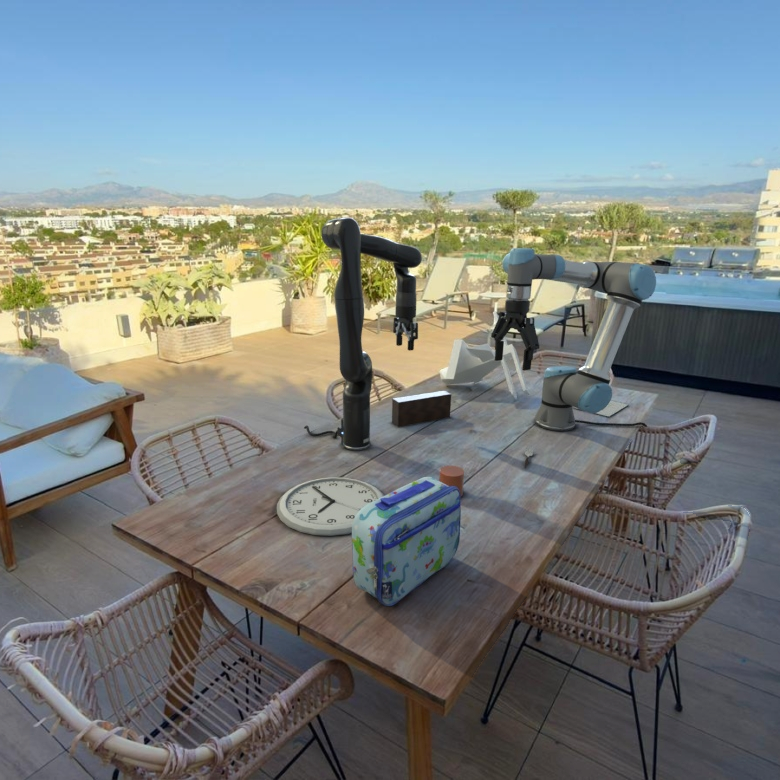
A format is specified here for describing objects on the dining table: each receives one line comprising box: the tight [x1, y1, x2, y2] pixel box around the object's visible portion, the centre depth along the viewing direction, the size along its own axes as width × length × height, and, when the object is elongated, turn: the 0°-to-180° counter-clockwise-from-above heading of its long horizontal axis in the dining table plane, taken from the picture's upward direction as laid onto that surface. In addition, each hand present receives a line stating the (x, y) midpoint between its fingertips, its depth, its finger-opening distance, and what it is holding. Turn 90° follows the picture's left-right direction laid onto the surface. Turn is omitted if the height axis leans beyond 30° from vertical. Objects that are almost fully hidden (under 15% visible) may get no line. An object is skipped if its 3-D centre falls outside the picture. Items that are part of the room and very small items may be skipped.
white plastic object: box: [438, 310, 531, 400], centre depth 245 cm, size 37×45×31 cm
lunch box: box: [351, 476, 462, 607], centre depth 111 cm, size 26×11×21 cm, turn 135°
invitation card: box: [573, 400, 629, 418], centre depth 226 cm, size 21×1×15 cm
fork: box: [524, 445, 535, 469], centre depth 172 cm, size 3×16×2 cm, turn 160°
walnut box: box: [391, 390, 452, 428], centre depth 205 cm, size 24×5×10 cm, turn 118°
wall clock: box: [276, 476, 385, 537], centre depth 142 cm, size 30×2×30 cm
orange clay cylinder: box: [438, 465, 465, 498], centre depth 150 cm, size 7×7×7 cm
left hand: (404, 347), depth 194 cm, fingers open, 8 cm apart
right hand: (512, 365), depth 170 cm, fingers open, 13 cm apart
